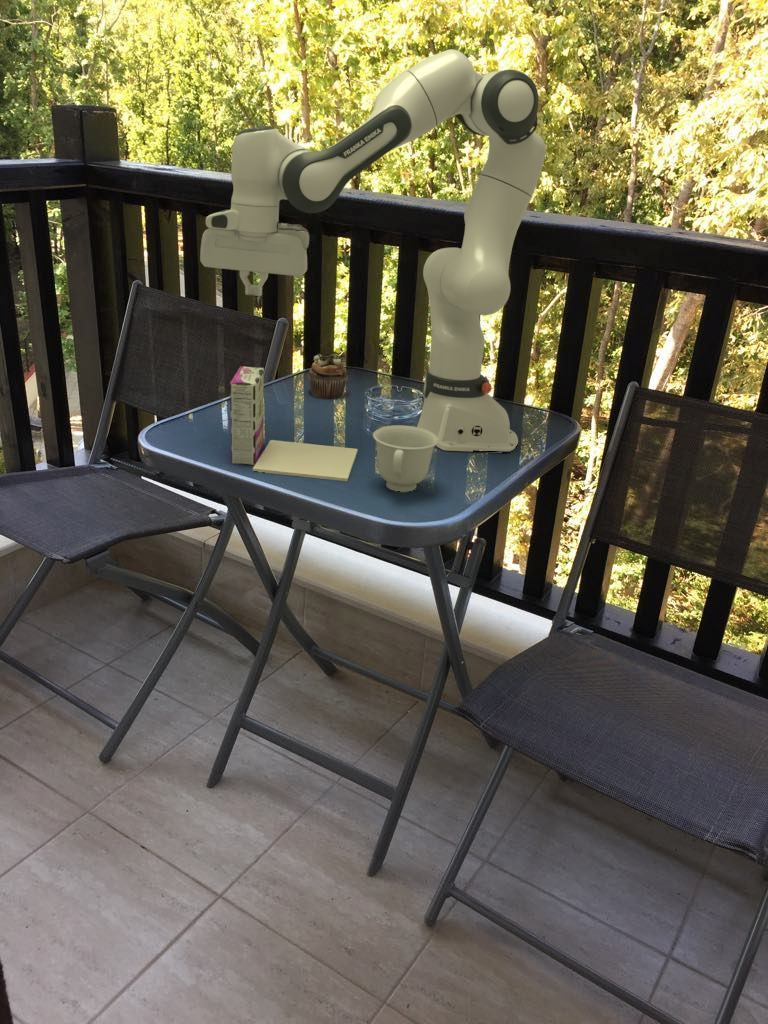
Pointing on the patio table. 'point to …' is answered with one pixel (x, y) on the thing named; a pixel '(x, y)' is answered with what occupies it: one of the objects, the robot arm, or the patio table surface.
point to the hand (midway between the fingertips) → (253, 294)
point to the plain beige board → (306, 460)
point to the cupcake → (327, 377)
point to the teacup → (404, 455)
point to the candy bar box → (247, 415)
